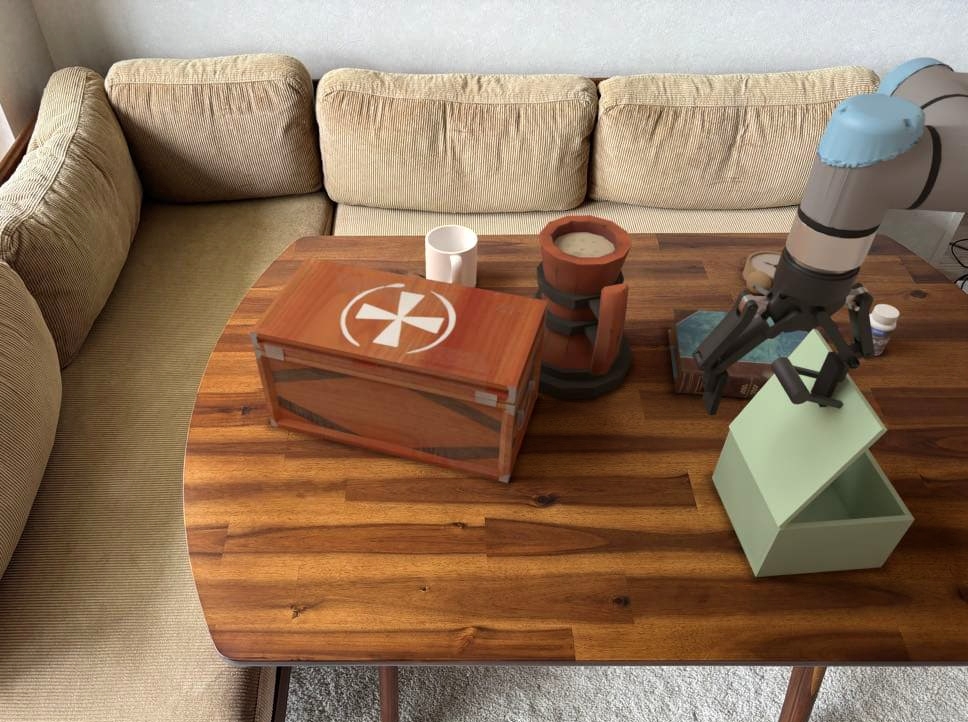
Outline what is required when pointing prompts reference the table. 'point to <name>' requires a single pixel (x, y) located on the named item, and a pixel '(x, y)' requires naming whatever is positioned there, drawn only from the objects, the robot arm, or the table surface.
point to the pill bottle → (882, 325)
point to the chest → (814, 519)
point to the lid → (802, 431)
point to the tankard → (583, 307)
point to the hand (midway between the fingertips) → (763, 403)
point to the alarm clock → (761, 271)
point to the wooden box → (402, 365)
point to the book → (742, 374)
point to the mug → (451, 255)
